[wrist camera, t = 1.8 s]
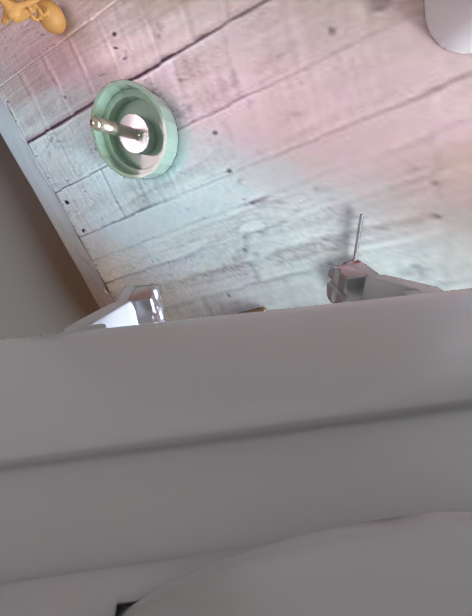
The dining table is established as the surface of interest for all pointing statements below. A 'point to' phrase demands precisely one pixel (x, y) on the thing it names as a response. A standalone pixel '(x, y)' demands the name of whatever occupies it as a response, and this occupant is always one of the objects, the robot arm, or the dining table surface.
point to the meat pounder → (129, 132)
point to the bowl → (144, 103)
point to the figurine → (23, 10)
